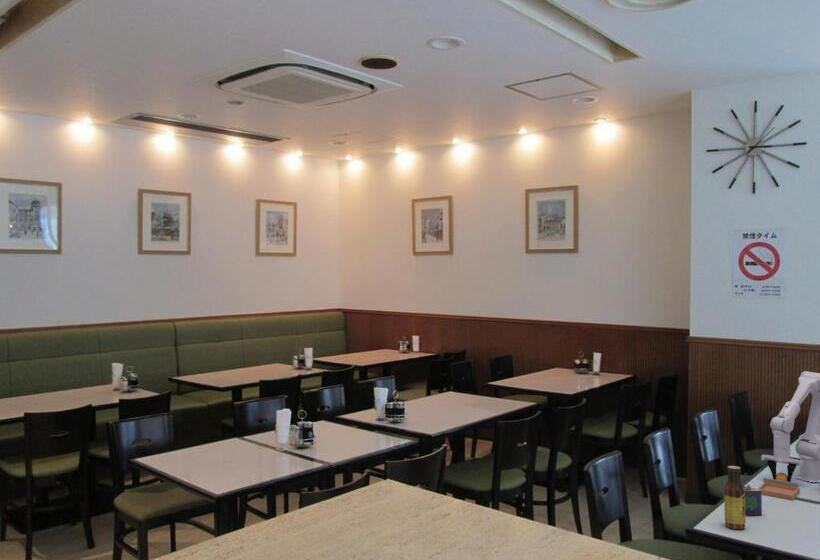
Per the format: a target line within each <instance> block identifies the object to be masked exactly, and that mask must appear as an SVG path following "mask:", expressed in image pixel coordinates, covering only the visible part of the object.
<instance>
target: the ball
mask: <svg viewBox="0 0 820 560" xmlns="http://www.w3.org/2000/svg"><path fill="white" fill-rule="evenodd" d="M775 478H776V480H781V481H786V482H788V474H786V473H784V472H778V473H776V477H775Z"/></svg>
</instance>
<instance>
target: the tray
mask: <svg viewBox="0 0 820 560" xmlns="http://www.w3.org/2000/svg"><path fill="white" fill-rule="evenodd" d="M756 489H761V490H762V496H766V495H767V496H768V497H772V498H773V497H774V498H777V499H783V500H787V501H794V500H795V498H797V496H799V494H800V493H801V488H800V487H799V486H798V487H792V486H786V485H781V484H775V483H770V482H764V481H763V483H762V484H761V485H760V486H758V487H757V488H756ZM767 496H766V497H767Z"/></svg>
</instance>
